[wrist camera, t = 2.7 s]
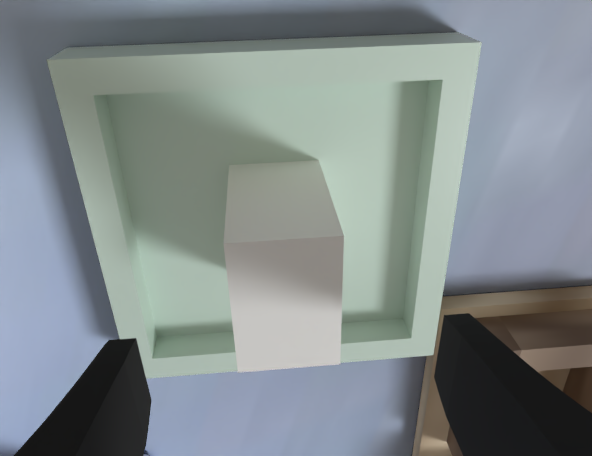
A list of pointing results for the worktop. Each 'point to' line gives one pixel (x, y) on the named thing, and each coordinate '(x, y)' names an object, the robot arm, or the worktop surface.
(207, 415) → the worktop surface
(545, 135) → the worktop surface
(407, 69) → the tray
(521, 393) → the robot arm
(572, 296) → the wooden holder
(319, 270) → the plug
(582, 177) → the worktop surface
